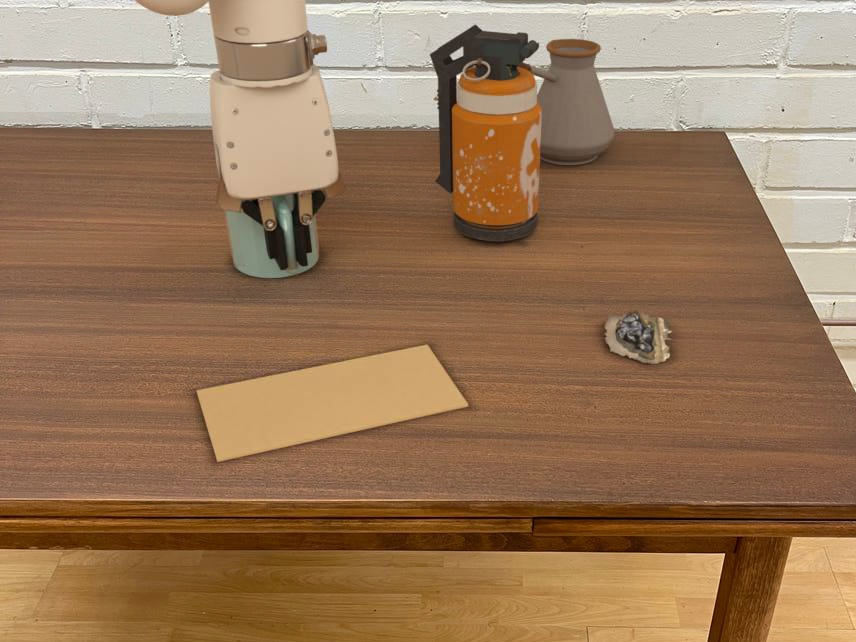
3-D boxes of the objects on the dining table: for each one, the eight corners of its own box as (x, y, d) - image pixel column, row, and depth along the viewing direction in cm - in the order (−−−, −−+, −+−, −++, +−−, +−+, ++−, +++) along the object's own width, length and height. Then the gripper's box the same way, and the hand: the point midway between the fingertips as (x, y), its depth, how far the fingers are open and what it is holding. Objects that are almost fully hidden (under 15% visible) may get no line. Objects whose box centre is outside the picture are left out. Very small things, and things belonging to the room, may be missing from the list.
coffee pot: (567, 132, 126) (575, 9, 117) (631, 156, 120) (645, 27, 110) (441, 171, 116) (438, 39, 106) (504, 200, 109) (507, 61, 99)
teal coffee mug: (225, 247, 99) (209, 151, 92) (306, 233, 101) (296, 140, 95) (251, 301, 90) (235, 201, 84) (339, 285, 93) (330, 186, 86)
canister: (522, 252, 98) (530, 46, 86) (423, 237, 101) (415, 35, 88) (546, 218, 105) (556, 22, 92) (452, 204, 108) (449, 12, 95)
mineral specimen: (658, 314, 88) (660, 296, 87) (695, 359, 82) (698, 339, 81) (589, 324, 87) (591, 305, 86) (622, 369, 81) (624, 350, 80)
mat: (217, 462, 71) (216, 460, 71) (196, 392, 78) (196, 390, 78) (468, 406, 77) (468, 404, 76) (427, 346, 84) (427, 344, 84)
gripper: (343, 35, 83) (358, 233, 95) (161, 53, 79) (201, 259, 90) (368, 58, 78) (381, 265, 89) (174, 79, 73) (215, 294, 85)
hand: (290, 261), depth 90 cm, fingers closed on teal coffee mug, 1 cm apart
